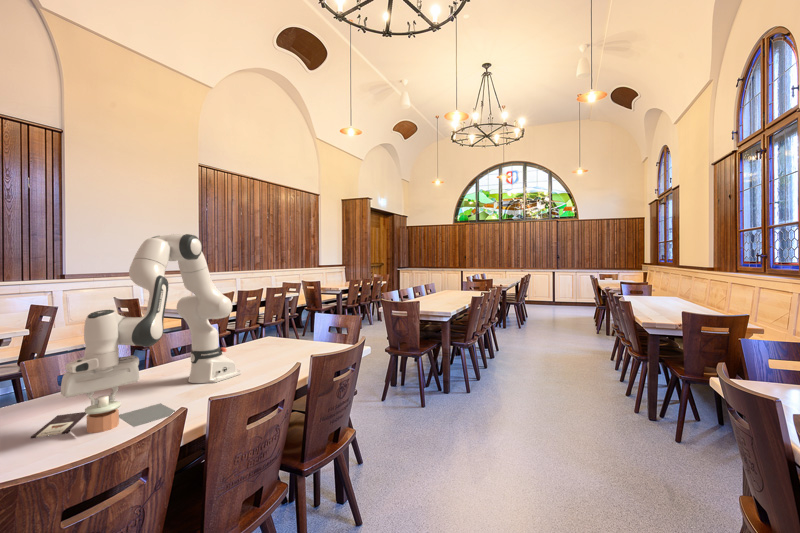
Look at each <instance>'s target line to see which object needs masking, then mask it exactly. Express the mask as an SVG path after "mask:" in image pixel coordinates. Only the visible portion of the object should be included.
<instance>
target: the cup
mask: <svg viewBox="0 0 800 533" xmlns="http://www.w3.org/2000/svg"><path fill="white" fill-rule="evenodd" d="M119 410H120V409H119V408H117V409H115V410H112V411H109V412H105V413H99V414H86V432H87V433H88V434H89V433H91V434H96V433H103V432H107V431H110V430H113V429H115V428H116V427H118V426H119V425H120V418H119V415H120V411H119Z"/></svg>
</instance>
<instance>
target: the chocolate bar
mask: <svg viewBox="0 0 800 533" xmlns="http://www.w3.org/2000/svg"><path fill="white" fill-rule="evenodd" d="M85 416H87V414H86V413H85V411H83V412H82V411H81V412H75V413H67V414H58V415H56V416H55V417H53V418H52V420H50V421H49V422H48V423H45V424H44V426H42V427H41V428H40V429H39V430H37V431H35V433H34V434H32V435H31V436H30V439H37V438H36V437H38V438H43V437H42V436H45V437H49V436H48V435H52V436H57V435H56V434H59V435H65V433H66V434H68V433H69V432H70V431H71V429H72V428H74V426H76V424H77V423H79V422H80V421H81V420H83V418H84V417H85Z"/></svg>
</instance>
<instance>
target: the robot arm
mask: <svg viewBox="0 0 800 533" xmlns="http://www.w3.org/2000/svg"><path fill="white" fill-rule="evenodd" d="M202 250H203V244H202V241H201V239H200V238H199V237H198V236H196V235H194V234H190V233H189V234H188V233H186V234H181V233H176V234H175V233H171V234H166V235H165V234H164V235H155V236H152V237H149V238H147V239H144V241H143V242H142V244H141V245H140V246H139V248H138V250H137V251H136V253H135V255H134V257H133V259H132V262H131V264H130V266H129V269H128V270H129V271H128V276H129V278H130V280H131V281H132V282H133V283H134V284H135V285H136V286H138V287H140V288H142V289H145V290H147V291H148V294H149V296H148V300H147V307H146V312H145V314H144V315H142V316H140V317H138V316H136V317H133V316H123V315H121V314H118V313H117V312H116V311H115V310H113V309H101V310H96V311H93V312H91V313H89V314H87V316H86V318H85V320H84V321H85V322H84V328H83V340H84V344H85V349H84V355H83V356H82V357H80V358H77V359H75V360H73V361H70V362H68V363H66V364H65V371H66V372H64V373H63V376H62V379H61V384H60V394H61V396H62V397H65V398H67V399H68V398H71V397H76V396H80V395H86V397H87V398H88V399H89V400H90V406H91V405H92V406H94V405H97V404H98V399H97V397H96V398H94V397H93V396H94V394H95V392H100V391H103V390H108V389H111V390H112V391H111V392H110V394H107V395H108V396H109V402H110V401H116V400H115V399H116V398H115V397H116V396H115V395H116V394H117V393H118V391H119V387H120V386H121V387H122V386H125V385H130V384H133V383H137V382H139V380H140V377H141V376H140V369H139V365H140V358H139V357H138V356H136V355H134V354H133V355H128V356H122V357H121V356H120V350H119V346H137V347H146V348H148V347H153V346H154V345H156V344H157V343H158V342H159V341H160V340H161V338H162V337H163V335H164V318H165V312H166V307H167V299H168V295H169V280H168V279H167V278H166V276H165V275H166V274H165V273H166V270H167V267H168V263H169V262H177V264H178V268H179V274H180V276H181V279H182V282H183V286H184V287H185V289H186V290H187V291H189V292H190V293H193V295H187V296H183V297H181V298H179V300H178V302H177V304H176V312H177V315H179V317H181V318H182V319H184V321H185V322H186V324H187V327H188V329H189V332H190V339H191V350H190V362H191V364H190V365H191V366H190V371H189V377H188V379H187V382H189V383H190V384H208V383H209V384H212V383H214V384H215V383H218V382H222V381H224V380H227V379H230V378H234V377H236V376H239V375H241V374H242V371H241V370H240V369H237V366H236V363H235V361H234V360H233V359H231V358H229V357H227V355H225V354H223V353H226V352H227V348H226V347H220V346H219V331H218V329H217V328H216V327H215V326H213V325H212V324H211V323H210V321H209V320H221V319H225V318H227V317H229V316H230V315H231V312H232V311H233V303H232V300H231V299H230V297H227V296H226V295H224V294H223V293H222V292H221V291H220V290H219V289H218V287H216V285H215V283H214V282H213V280H212V276H211V274H210V270H209V266H208V263H207V260H206V257H205V255H204V253H203V251H202Z"/></svg>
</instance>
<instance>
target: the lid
mask: <svg viewBox="0 0 800 533" xmlns="http://www.w3.org/2000/svg"><path fill="white" fill-rule="evenodd" d="M108 395H109V394H107V395H100V396H98V397H96V398H97V399H98V404H97V405H94V406H92V405H91V404H90V405H89V406H87V407H85V408H84V412H85V413H86V415H88V414H99V413H105V412H109V411H112V410H115V409H119V408H120V407H121V405H122V402H121V401H118V400H114V401H110V402H109V396H108Z"/></svg>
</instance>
